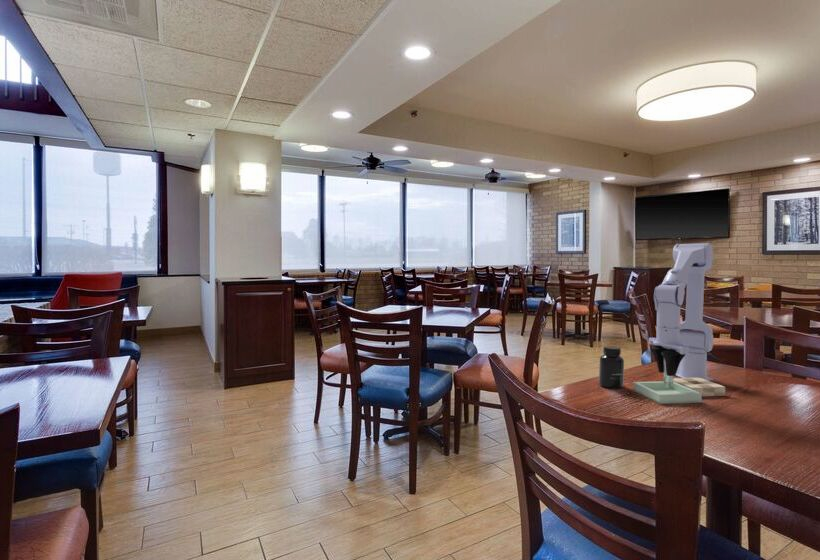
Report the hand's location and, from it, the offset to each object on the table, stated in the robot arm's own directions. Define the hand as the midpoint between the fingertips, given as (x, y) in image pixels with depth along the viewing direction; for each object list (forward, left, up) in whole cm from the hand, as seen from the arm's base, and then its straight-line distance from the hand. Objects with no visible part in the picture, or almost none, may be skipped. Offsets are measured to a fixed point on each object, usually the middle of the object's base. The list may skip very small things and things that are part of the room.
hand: (667, 374), depth 123 cm
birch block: (-3, +11, -6) cm, 13 cm away
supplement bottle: (-10, -11, -6) cm, 16 cm away
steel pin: (0, +1, -3) cm, 3 cm away
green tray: (+1, -1, -6) cm, 6 cm away
